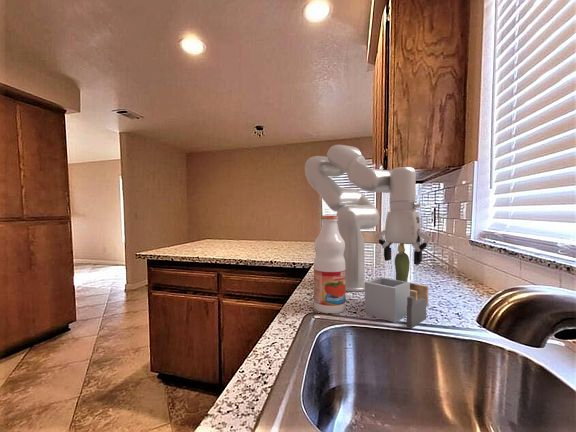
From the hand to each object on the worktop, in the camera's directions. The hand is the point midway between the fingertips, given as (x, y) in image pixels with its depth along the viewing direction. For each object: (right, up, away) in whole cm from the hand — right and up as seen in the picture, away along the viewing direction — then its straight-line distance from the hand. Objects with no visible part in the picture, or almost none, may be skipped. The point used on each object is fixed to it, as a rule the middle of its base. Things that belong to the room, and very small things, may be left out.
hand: (402, 262), depth 90 cm
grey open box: (-8, -13, -8) cm, 18 cm away
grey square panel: (-2, -14, -15) cm, 20 cm away
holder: (0, -13, 0) cm, 13 cm away
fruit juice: (-23, -14, -4) cm, 27 cm away
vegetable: (0, -13, 0) cm, 13 cm away
